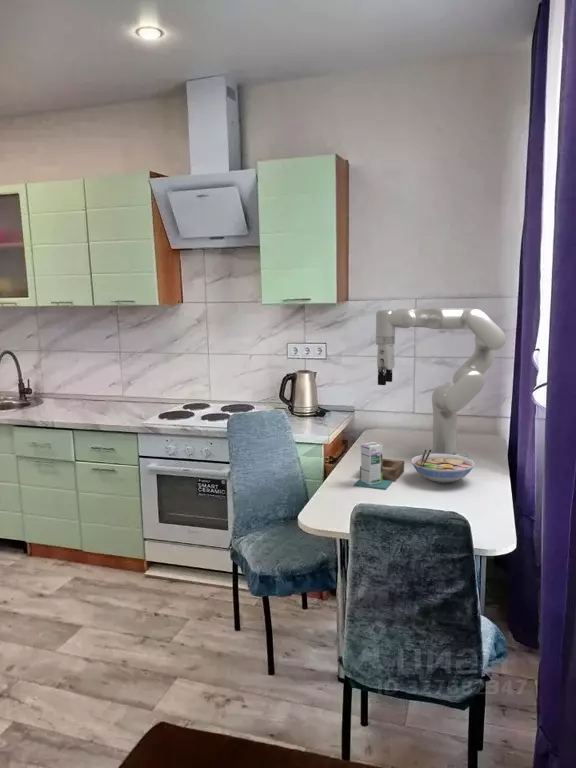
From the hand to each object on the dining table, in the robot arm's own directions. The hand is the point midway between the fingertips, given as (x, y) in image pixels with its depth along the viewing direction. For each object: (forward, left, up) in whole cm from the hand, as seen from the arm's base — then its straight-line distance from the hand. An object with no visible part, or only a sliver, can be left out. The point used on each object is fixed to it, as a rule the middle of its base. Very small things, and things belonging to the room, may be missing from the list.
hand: (385, 383), depth 242 cm
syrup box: (-3, +28, -33) cm, 43 cm away
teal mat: (-4, +29, -33) cm, 44 cm away
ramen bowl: (-26, +15, -34) cm, 45 cm away
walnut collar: (-4, +16, -33) cm, 37 cm away
